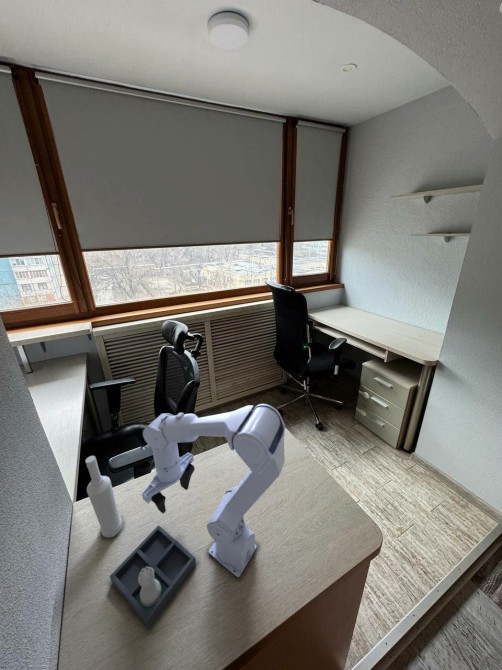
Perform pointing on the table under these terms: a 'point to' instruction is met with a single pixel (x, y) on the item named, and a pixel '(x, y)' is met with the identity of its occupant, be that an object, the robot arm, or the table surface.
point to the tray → (168, 570)
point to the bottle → (103, 500)
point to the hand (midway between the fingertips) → (173, 498)
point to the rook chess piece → (149, 587)
